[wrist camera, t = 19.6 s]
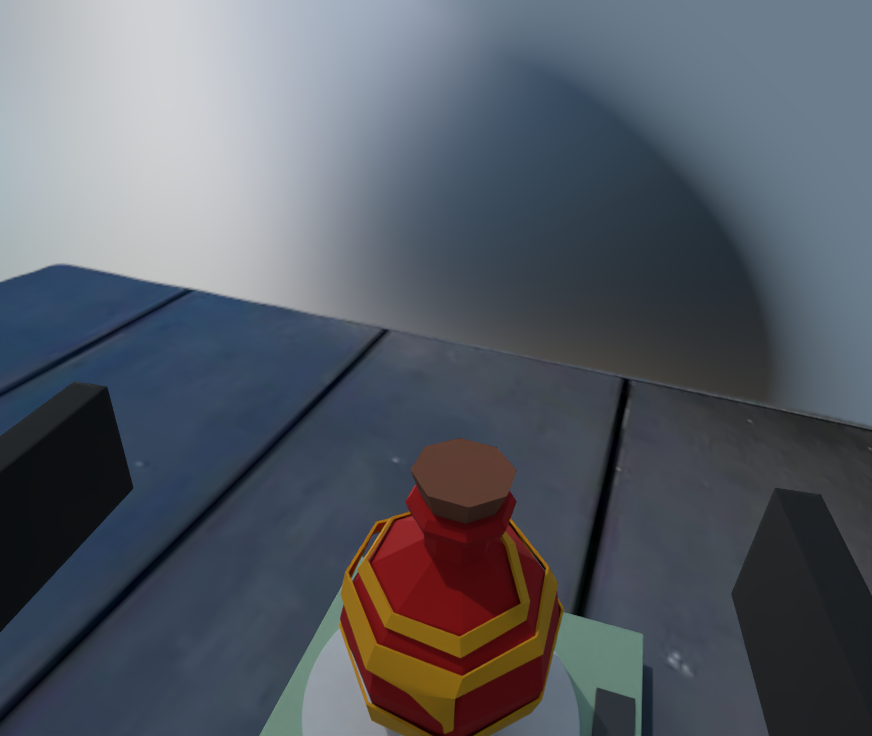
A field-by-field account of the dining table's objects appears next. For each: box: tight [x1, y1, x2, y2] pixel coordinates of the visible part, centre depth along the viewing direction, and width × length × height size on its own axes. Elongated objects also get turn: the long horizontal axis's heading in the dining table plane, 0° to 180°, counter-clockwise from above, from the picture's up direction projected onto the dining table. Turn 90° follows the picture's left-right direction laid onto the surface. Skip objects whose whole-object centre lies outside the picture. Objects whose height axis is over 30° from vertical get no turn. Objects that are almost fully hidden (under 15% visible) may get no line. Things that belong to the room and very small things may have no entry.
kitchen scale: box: [260, 557, 643, 736], centre depth 33 cm, size 18×16×3 cm
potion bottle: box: [339, 438, 564, 736], centre depth 28 cm, size 10×10×15 cm
